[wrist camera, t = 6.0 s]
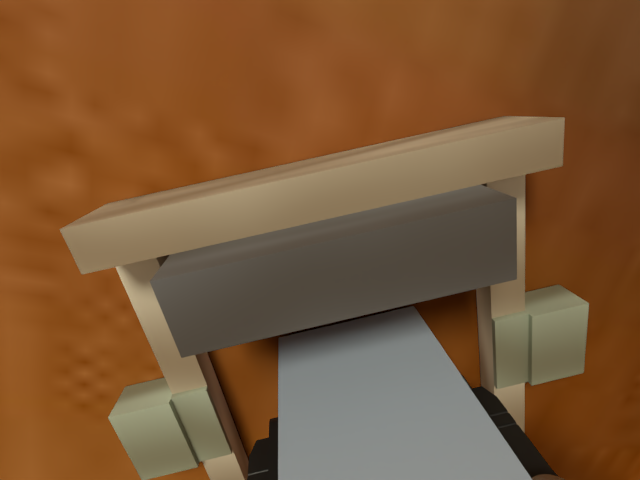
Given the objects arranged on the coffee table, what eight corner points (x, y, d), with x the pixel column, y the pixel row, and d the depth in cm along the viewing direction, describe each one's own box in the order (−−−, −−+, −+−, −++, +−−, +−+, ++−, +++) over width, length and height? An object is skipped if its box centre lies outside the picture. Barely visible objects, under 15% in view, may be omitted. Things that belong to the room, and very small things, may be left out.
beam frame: (40, 218, 11) (-87, 276, 7) (566, 102, 11) (709, 98, 7) (242, 620, 18) (233, 750, 15) (548, 541, 19) (614, 647, 15)
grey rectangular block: (278, 337, 13) (277, 655, 5) (414, 305, 13) (596, 572, 6) (307, 437, 15) (337, 781, 7) (426, 409, 15) (576, 716, 7)
